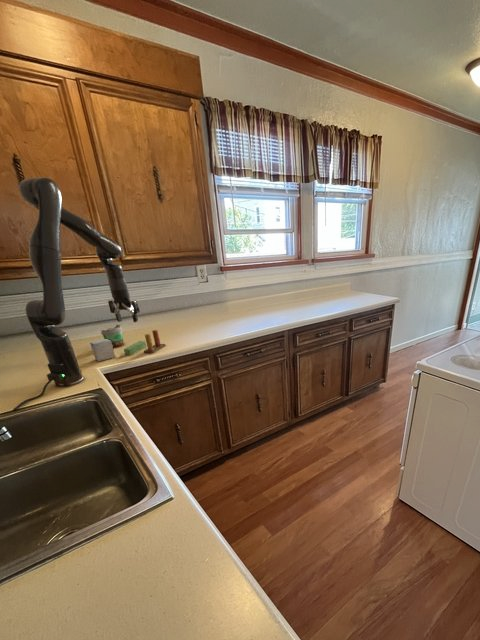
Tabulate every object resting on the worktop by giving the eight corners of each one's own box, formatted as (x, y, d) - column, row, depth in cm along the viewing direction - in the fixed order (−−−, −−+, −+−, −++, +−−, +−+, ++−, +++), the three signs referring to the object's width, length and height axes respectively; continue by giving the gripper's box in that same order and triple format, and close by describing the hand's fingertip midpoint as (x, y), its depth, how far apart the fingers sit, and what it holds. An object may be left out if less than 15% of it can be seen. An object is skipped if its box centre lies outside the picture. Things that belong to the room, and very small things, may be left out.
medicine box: (111, 355, 164) (106, 338, 160) (115, 357, 161) (110, 340, 157) (95, 359, 159) (89, 342, 155) (99, 361, 156) (93, 344, 152)
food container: (116, 349, 172) (110, 331, 167) (105, 349, 173) (100, 330, 168) (131, 342, 182) (126, 324, 178) (121, 341, 183) (116, 324, 179)
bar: (146, 346, 176) (144, 340, 175) (130, 355, 164) (129, 349, 163) (141, 346, 177) (139, 340, 175) (125, 354, 164) (123, 349, 163)
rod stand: (165, 345, 177) (161, 329, 172) (153, 353, 166) (149, 336, 162) (156, 345, 177) (153, 329, 173) (144, 352, 167) (140, 335, 163)
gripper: (100, 289, 153) (110, 323, 161) (127, 289, 151) (136, 324, 159) (110, 286, 159) (119, 319, 167) (137, 286, 157) (145, 320, 165)
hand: (127, 321), depth 163 cm, fingers open, 8 cm apart
